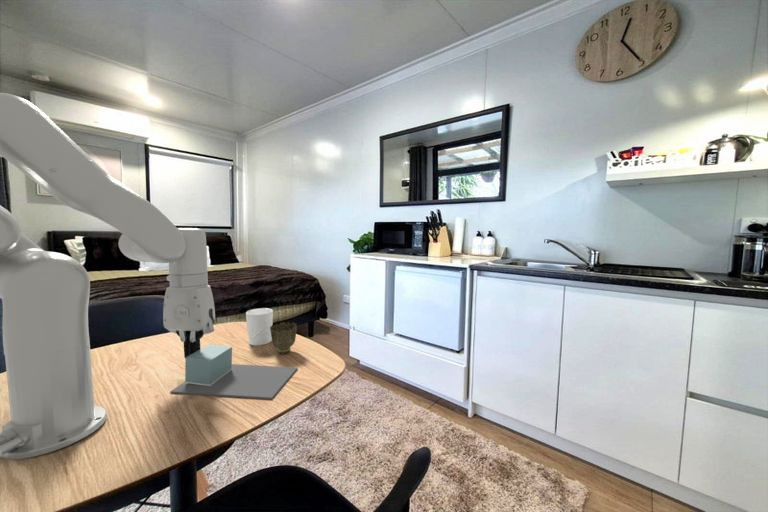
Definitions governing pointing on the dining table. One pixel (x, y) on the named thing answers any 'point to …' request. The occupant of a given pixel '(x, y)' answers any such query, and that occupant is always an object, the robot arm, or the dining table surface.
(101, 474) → the dining table surface
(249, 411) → the dining table surface
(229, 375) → the rubber mat
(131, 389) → the dining table surface
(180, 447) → the dining table surface
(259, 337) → the white cup
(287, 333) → the cup
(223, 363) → the teal block
